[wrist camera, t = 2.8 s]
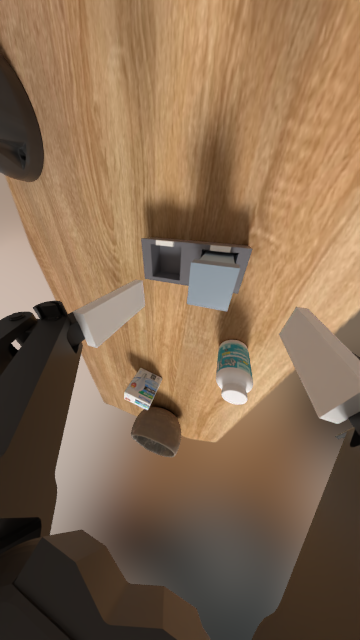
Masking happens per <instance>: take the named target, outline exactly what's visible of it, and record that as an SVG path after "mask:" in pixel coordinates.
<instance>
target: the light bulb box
mask: <svg viewBox="0 0 360 640" xmlns="http://www.w3.org/2000/svg"><path fill="white" fill-rule="evenodd" d="M161 381H162V378H161V377H159V376H157V375H155V374H153V373H151V372H148V371H146V370H144V369H142V368H140V369H139V370H138V372H137V373H136V375H135V377H134V378H133V380H132V381H131V383H130V384H129V386H128V387H127V389H126V390H125V393H124V399H125V400H127V401H129V402H132V403H134V404H136V405H138V406H140V407H142V408H144V409H146V410H148V409H149V407H150V405H151V403H152V401H153V399H154V397H155V394H156V392H157V390H158V388H159V386H160V383H161Z"/></svg>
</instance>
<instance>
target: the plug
mask: <svg viewBox="0 0 360 640" xmlns="http://www.w3.org/2000/svg"><path fill="white" fill-rule="evenodd" d="M239 270H240V266H239V264H235V262H234V257H233V253H226V252H217V251H207V252H206V253H205V254H204V255H203V256H202V257H201V258H200V259H199V260H198V259H194V260H193V261H192V262H191V267H190V278H189V288H188V298H187V304H190V305H195V306H201V307H206V308H211V309H216V310H221V311H227V310H228V307H229V304H230V300H231V297H232V294H233V290H234V287H235V284H236V280H237V277H238V274H239Z"/></svg>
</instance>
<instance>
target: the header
mask: <svg viewBox="0 0 360 640" xmlns="http://www.w3.org/2000/svg"><path fill="white" fill-rule="evenodd" d="M141 241H142V251H143V262H144V273H145V279H150V280H156V281H162V282H169V283H175V284H181V285H187V286H189V278H190V267H191V262H192V261H193V260H194V259H198V260H199V259H200V258H201V257H202V256H203V255H204V254H205V253H206V252H207V251H217V252H226V253H233V257H234V262H235V264H239V266H240V270H239V274H238V277H237V280H236V284H235V287H234V290H233V293H237V294H238V292H239V289H240V286H241V283H242V280H243V276H244V273H245V270H246V267H247V264H248V261H249V258H250V255H251V252H252V248H251V247H250V246H248V245H237V244H226V243H214V242H203V241H192V240H181V239H170V238H159V237H150V238H141Z"/></svg>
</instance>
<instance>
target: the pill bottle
mask: <svg viewBox="0 0 360 640" xmlns="http://www.w3.org/2000/svg"><path fill="white" fill-rule="evenodd" d="M216 382H217V384H218V386H219V387H220V388H221V389H222V397H223V399H224V400H226V401H227V402H229V403H232V404H244V403H246V402H247V393H248V392H249V391H250V390H251V389H252V387H253V378H252V372H251V365H250V358H249V352H248V348H247V346H246V345H245V344H244V343H242V342H240V341H238V340H227V341H224V342H223V343H222V344H221V345H220V346H219V352H218V361H217V372H216Z"/></svg>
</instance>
